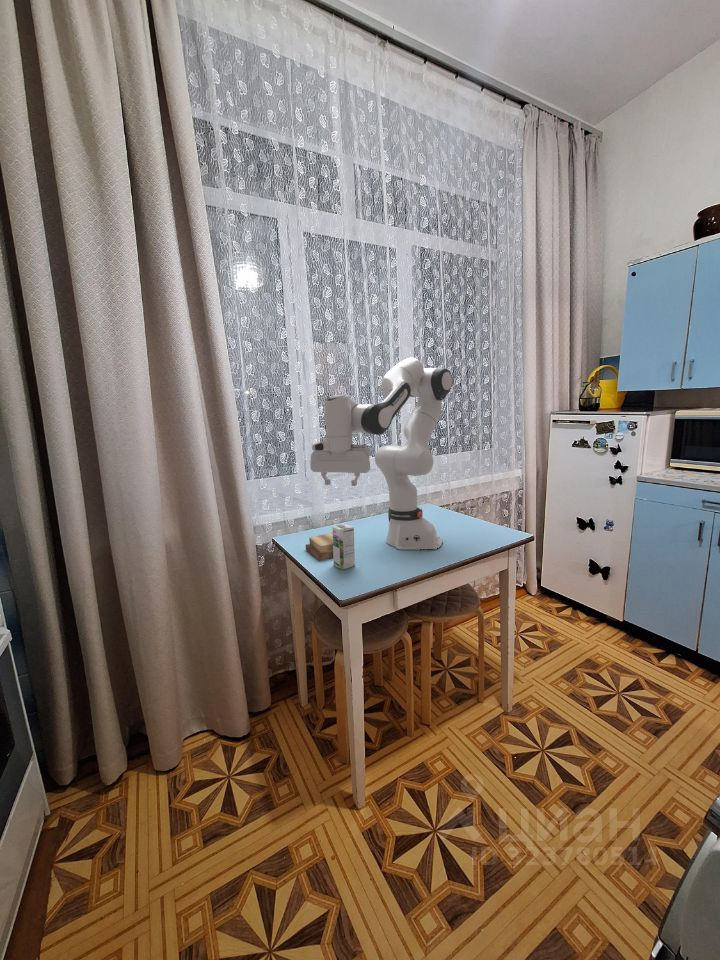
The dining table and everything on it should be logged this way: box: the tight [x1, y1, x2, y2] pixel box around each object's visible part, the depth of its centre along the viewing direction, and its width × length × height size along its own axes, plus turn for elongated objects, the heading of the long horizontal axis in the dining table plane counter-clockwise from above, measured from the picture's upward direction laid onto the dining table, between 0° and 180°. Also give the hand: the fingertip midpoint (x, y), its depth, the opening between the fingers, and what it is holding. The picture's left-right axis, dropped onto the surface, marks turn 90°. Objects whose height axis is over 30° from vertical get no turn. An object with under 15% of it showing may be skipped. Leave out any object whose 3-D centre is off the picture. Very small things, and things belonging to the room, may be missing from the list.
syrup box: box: [331, 523, 356, 571], centre depth 137 cm, size 6×6×14 cm
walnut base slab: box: [305, 543, 333, 562], centre depth 151 cm, size 13×13×3 cm
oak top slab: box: [308, 532, 333, 554], centre depth 151 cm, size 11×11×3 cm
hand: (340, 485), depth 133 cm, fingers open, 8 cm apart
